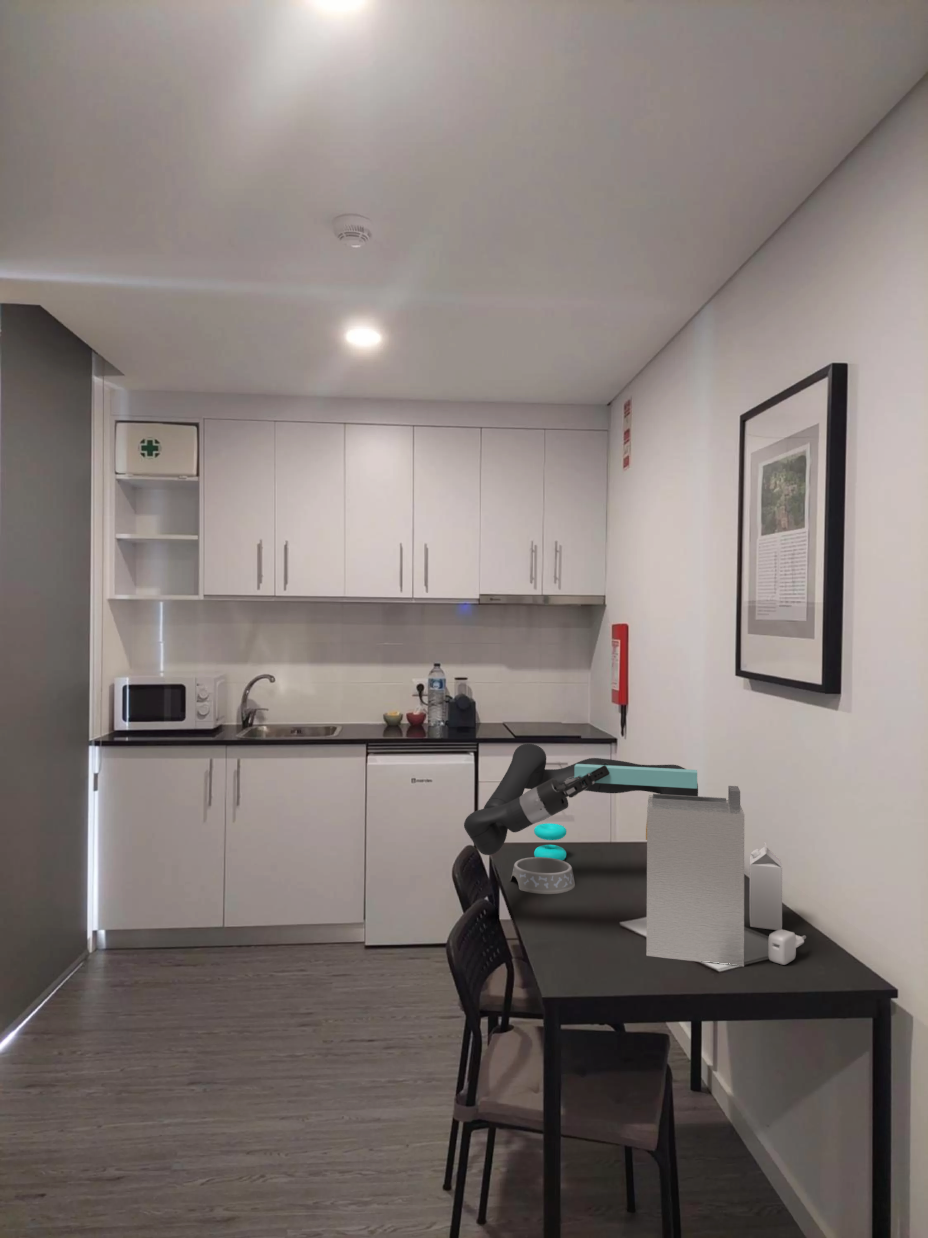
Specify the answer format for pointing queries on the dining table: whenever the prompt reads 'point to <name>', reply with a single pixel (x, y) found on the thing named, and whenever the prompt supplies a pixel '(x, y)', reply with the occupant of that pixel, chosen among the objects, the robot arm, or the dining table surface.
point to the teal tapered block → (642, 776)
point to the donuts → (550, 833)
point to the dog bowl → (543, 875)
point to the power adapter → (783, 946)
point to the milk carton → (765, 890)
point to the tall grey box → (695, 878)
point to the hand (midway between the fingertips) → (608, 768)
